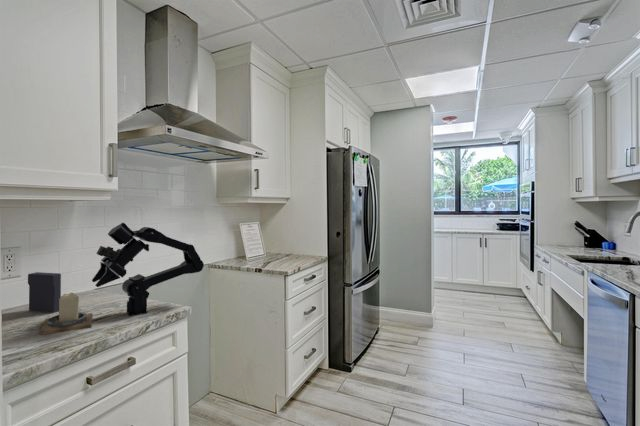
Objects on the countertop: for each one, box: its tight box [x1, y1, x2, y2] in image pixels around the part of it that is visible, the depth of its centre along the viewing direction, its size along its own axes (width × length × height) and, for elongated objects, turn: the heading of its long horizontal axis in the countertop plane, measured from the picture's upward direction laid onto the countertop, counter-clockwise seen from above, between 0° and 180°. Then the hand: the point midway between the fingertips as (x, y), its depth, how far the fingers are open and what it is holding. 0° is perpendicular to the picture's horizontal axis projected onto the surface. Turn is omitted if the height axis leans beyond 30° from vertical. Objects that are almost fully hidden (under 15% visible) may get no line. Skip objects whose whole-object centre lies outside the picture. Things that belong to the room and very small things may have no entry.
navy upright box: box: [27, 271, 62, 314], centre depth 131 cm, size 11×4×15 cm, turn 84°
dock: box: [38, 311, 94, 335], centre depth 117 cm, size 14×14×2 cm
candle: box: [58, 292, 80, 322], centre depth 118 cm, size 6×6×10 cm
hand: (94, 283), depth 122 cm, fingers open, 9 cm apart
